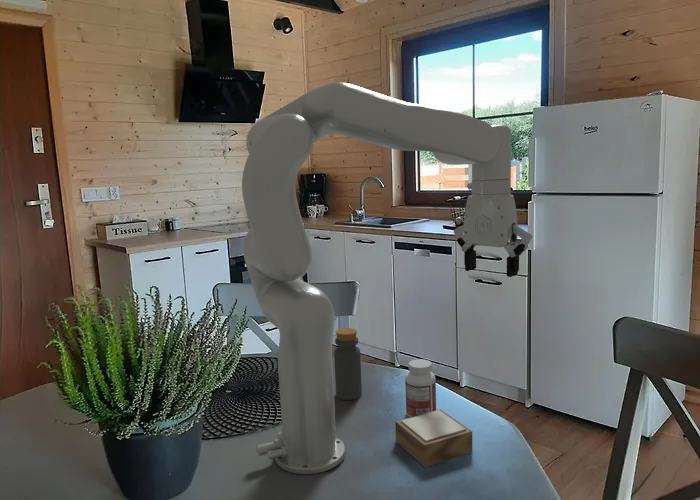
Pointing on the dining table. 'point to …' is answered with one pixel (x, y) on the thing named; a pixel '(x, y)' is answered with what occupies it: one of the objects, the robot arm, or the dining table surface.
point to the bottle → (347, 365)
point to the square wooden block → (433, 437)
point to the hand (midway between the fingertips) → (490, 272)
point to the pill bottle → (420, 388)
